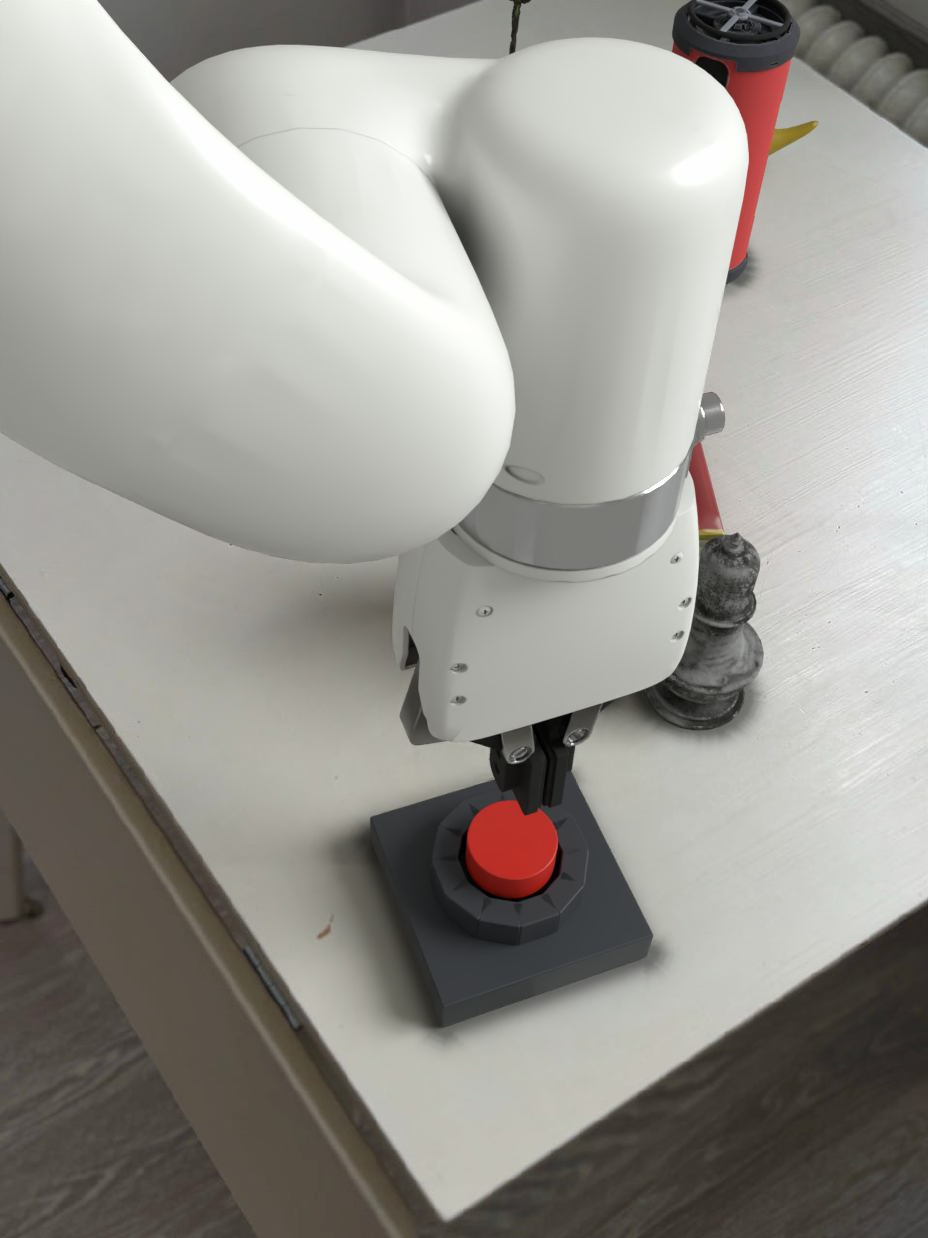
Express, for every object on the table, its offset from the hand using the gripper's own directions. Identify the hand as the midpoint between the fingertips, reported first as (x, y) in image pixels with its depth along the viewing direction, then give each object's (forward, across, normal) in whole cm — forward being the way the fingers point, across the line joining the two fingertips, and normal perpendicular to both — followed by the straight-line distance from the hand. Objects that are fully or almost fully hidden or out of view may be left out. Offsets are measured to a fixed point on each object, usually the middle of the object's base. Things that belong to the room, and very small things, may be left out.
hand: (528, 781), depth 56 cm
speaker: (+10, -30, -42) cm, 53 cm away
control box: (+10, 0, 0) cm, 10 cm away
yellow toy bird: (+10, -37, -52) cm, 65 cm away
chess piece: (+10, -14, -8) cm, 19 cm away
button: (+6, 0, 0) cm, 6 cm away
